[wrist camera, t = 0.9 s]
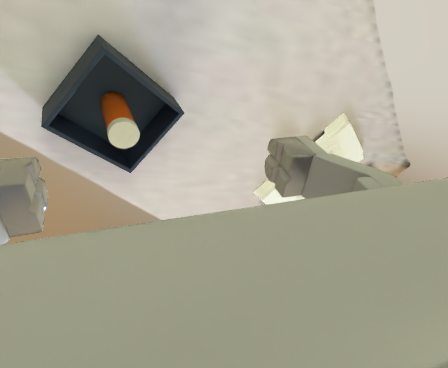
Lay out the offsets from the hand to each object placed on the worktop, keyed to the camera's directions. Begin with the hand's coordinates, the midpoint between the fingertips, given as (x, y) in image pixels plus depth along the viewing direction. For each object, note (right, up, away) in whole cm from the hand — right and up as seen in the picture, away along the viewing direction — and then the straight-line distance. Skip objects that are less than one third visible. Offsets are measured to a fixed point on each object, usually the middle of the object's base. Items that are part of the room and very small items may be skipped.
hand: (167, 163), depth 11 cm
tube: (-15, +12, +35) cm, 40 cm away
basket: (-15, +12, +36) cm, 41 cm away
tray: (+25, +2, +67) cm, 72 cm away
